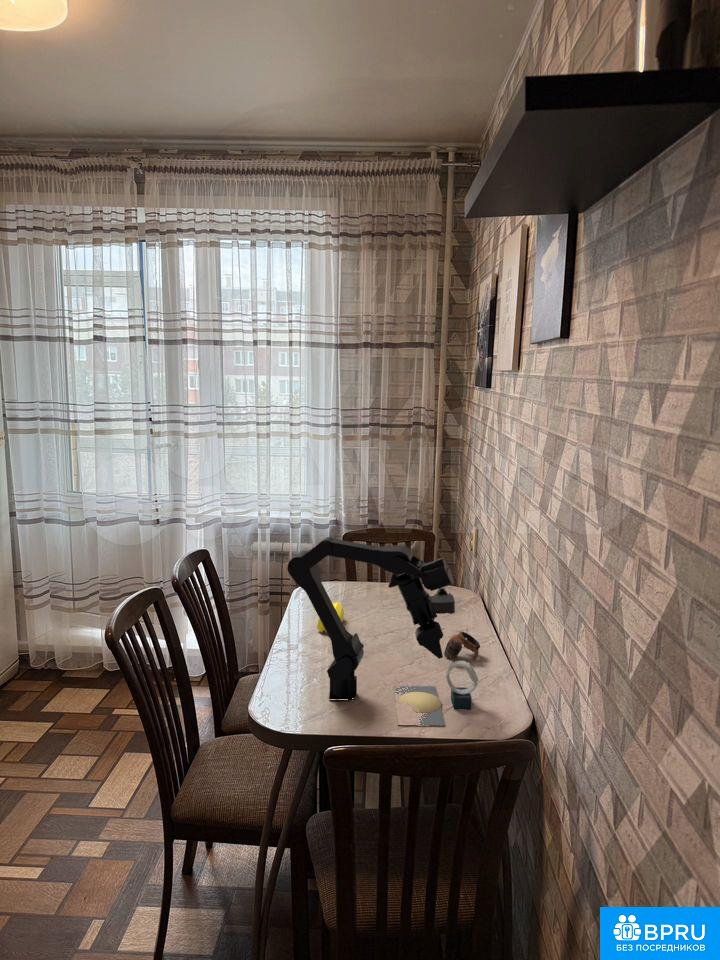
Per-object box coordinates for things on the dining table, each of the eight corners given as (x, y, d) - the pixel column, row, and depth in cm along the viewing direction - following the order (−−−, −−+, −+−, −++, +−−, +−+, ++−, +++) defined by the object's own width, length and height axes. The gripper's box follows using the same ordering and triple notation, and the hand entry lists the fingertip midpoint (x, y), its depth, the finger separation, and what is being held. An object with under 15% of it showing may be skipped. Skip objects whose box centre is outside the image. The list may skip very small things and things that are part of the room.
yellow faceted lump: (344, 617, 225) (322, 616, 226) (345, 598, 224) (322, 597, 225) (339, 637, 207) (315, 636, 208) (340, 616, 206) (315, 615, 207)
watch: (479, 709, 161) (480, 667, 160) (446, 709, 161) (447, 667, 160) (475, 699, 167) (477, 658, 165) (443, 698, 167) (445, 657, 165)
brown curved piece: (448, 649, 200) (463, 627, 198) (472, 670, 195) (488, 648, 193) (432, 652, 189) (447, 629, 188) (457, 674, 185) (473, 651, 183)
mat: (398, 725, 153) (398, 724, 153) (393, 686, 173) (393, 685, 173) (447, 726, 153) (447, 724, 153) (437, 687, 173) (437, 685, 173)
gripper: (450, 598, 151) (475, 655, 154) (440, 569, 169) (462, 620, 172) (405, 616, 152) (431, 672, 155) (400, 585, 170) (423, 636, 173)
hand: (438, 648), depth 164 cm, fingers open, 9 cm apart
